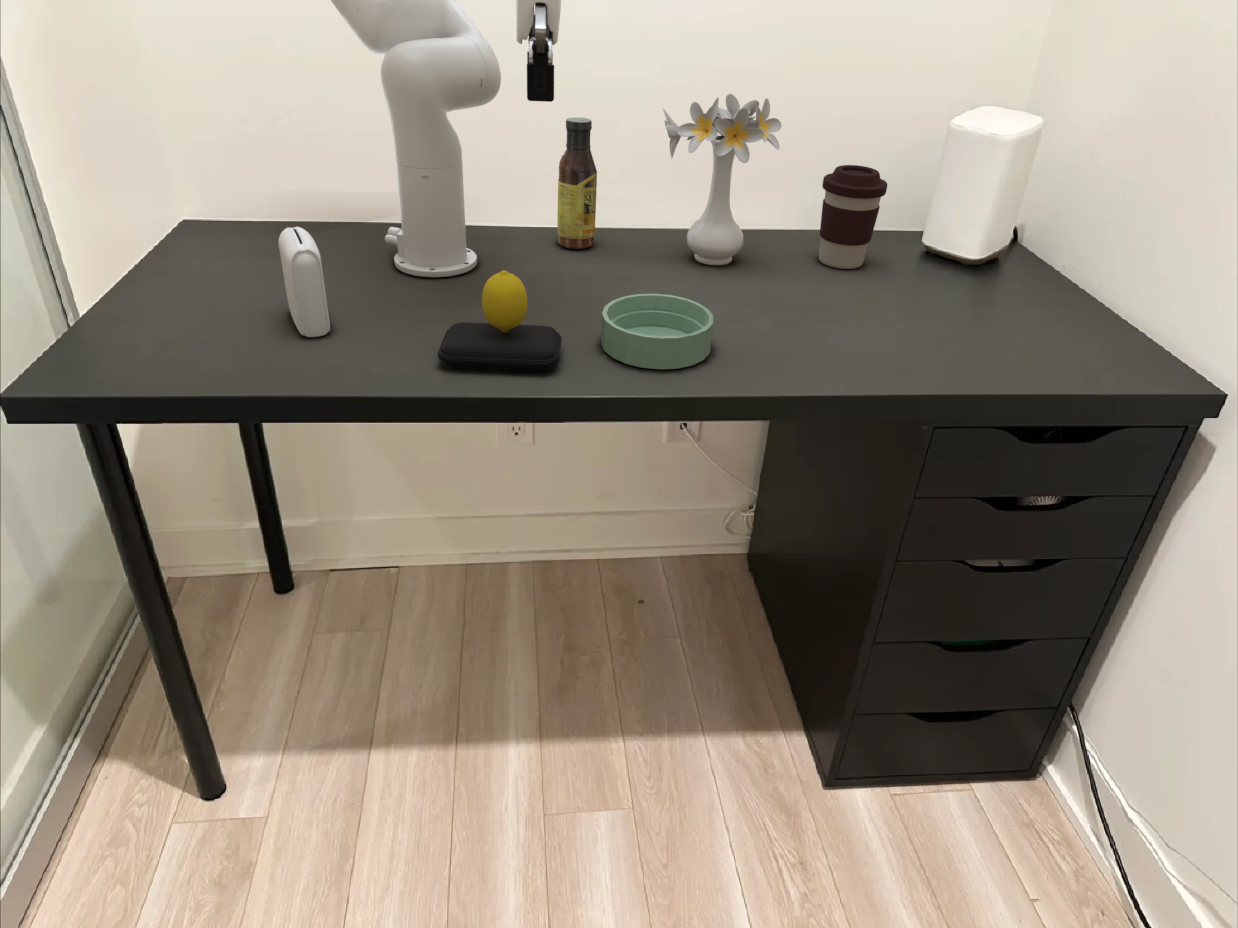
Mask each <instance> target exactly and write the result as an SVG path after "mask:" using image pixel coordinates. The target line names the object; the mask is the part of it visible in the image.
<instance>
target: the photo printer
mask: <svg viewBox="0 0 1238 928" xmlns="http://www.w3.org/2000/svg"><path fill="white" fill-rule="evenodd" d="M277 242H278V243H277V244H278V249H279V257H280V262H281V268H282V275H283V280H284V287H285V293H286V298H287V304H288V309H289V312H290V316H291V318H292V321H293V323H294V325H295V327H296V329H297V330H298V332H299V334H300V335H301V336H302V337H303V336H305V337H306V338H317V337H318V338H319V337H322V336H326V335H327V334H328V333H330V331H331V321H330V315H329V308H328V301H327V294H326V286H325V279H324V272H323V264H322V257H321V252H320V250H319V248H318V245H317V243H316V241H315V239H314V238H313V236H312V235H311V234H310V232H308V230H306V229H304V228H302V227H300V226H294V227H286V228H284V229H283V230H282V231H281V233H280V234H279V237H278V241H277Z"/></svg>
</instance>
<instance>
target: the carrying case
mask: <svg viewBox="0 0 1238 928" xmlns="http://www.w3.org/2000/svg"><path fill="white" fill-rule="evenodd" d="M561 347H562V336H561V334H560V333H559V332H558V331H557V330H556V329H555V328H554V327H552V326H549V325H541V324H540V325H538V324H521V323H520V324H519V325H518V326H517V327H515V328H512V329H510V330H509V331H508V332H507V333H504V332H502V331H501V330H500V329H498V328H496V327H494V326H492V325H491V324H490V323H489V322H468V321H467V322H465V321H464V322H462V321H461V322H455V323H454V324H452V325H451V326H450V327H449V328H448V329H447V330H446V331H445V333H444V336H443V338H442V341H441V343H440V346H439V349H438V350H437V358H438V359H439V361H440V362H442V363H443V365H445V366H446V367H449V368H451V369H460V370H461V369H462V370H481V371H482V370H483V371H484V370H485V371H506V372H537V373H538V372H541V373H542V372H549V371H551V370H552V369H553V368H554V367H555V366H557V364H558V363H559V361H560V355H561Z"/></svg>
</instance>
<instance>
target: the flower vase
mask: <svg viewBox="0 0 1238 928" xmlns="http://www.w3.org/2000/svg"><path fill="white" fill-rule="evenodd" d="M719 100H720V98H719V97H716V99H715V100H714V101H713V103H712V105H711V106H710V107H709V108H708V109H707V111H706V112H704V110H703V108H702V107H701V105H700V104H699V103H698V102H696V101H693V102H692V103H691V104H690V108H689V113H690V117H691V120H692V121H693V122H686V123H683V124H681V125H678V124H677V123H676V122H675V121H674V120H673V118H672V117H671V116H670V115H669V114H668V112H667V110H665V108H664V107H662V112H663V113H664V117H665V119H664V126H665V129H666V132H667V136H668V138H669V139H670V140H669V154H670V158H671V159H673V158H674V155H675V152H676V148H677V146H678V145H679V142H680V140H681V138H682V137H683V138H684V137H685V138H687V139H686V141H689V142H688V146H687V151H688V153H690V154H693V153H695V152H696V151H697V149H698V148H699V147H700V145H701V143H702V142H704V140H706V141H707V142H708V141H709V142H710V144H711V147H712V174H711V181H710V188H709V194H708V195H709V196H708V200H707V203H706V206H705V209H704V210H703V212H702V214H701V216H700V217H699V218H698V219H697V220H695V221H694V222H693V223H692V224H691V225H690V227H689V228H688V231H687V233H686V237H685V239H686V240H685V241H686V243H687V246H688V248H689V249H690V251H691V252H693V253H694V255H693V258H694V259H695V261H697V262H698V263H700V264H704V265H708V266H724V265H729V264H730V263H731V262H732V261H733V257H734V256H736V255H737V254H738V253H739V252H740V251H741V250H742V249H743V248H744V243H745V237H744V232H743V231H742V229H741V227H740V226H739V224H738V223H737V222H736V221H735V218H734V216H733V213H732V209H731V185H732V184H731V183H732V173H733V164H734V160H735V157H736V158H737V160H738V161H739V162H741V163H742V164H746V163H748V162H749V160H750V148H749V146H748V144H749V143H751V144H752V143H756V142H760V141H761V140H762V141H763V142H764V143H766V142H767V141H768V143H770V145H772V146H773V147H774V148H775V149H776V150H780V144H779V141H778V139H777V136H775V135H774V134H773V133H776V132H779V131H780V130H781V129H782V127H783V125H782V121H780V119H778V118H776V117H772V118H769V117H770V113H771V104H770V100H769V99H768V98H765V99H764V101H763V103H762V107H761V108H760V101H758V100H757V99H753V100H750V101H748V102H746V103H745V104H744V105H743V106H742V107H741V106H740V105H741V104H740V102H739V100H738V99H737V97H736V96H735V95H734V94H732V93H728V94H726V96H725V106H726V109H725V108H721V107H719ZM754 114H755V116H754ZM718 134H719V135H718ZM747 143H748V144H747Z"/></svg>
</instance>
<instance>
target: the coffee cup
mask: <svg viewBox="0 0 1238 928" xmlns="http://www.w3.org/2000/svg"><path fill="white" fill-rule="evenodd" d="M822 189H823V190H824V192H825V193H824V198H823V200H822V207H821V218H820V228H819V236H820V243H819V251H818V260H819V261H820V263H822V264H823V265H825V266H827V267H831V268H835V269H841V270H852V269H857V268H861V266H862V265H863V264H864V262H865V257H866V255H867V250H868V247H869V243H870V242H871V240H872V238H873V233H874V229H875V225H876V222H877V219H878V216H879V211H880V207H881V205H880V202H881V199H882V198H883V197H884V196H885V195H886V194H887V189H888V182H887V181H886V180H884V179H882V178H881V175H880V171H878V170H877V169H875V168H872V167H869V166H864V165H857V164H843V165H838V166H837V167H835V168H834V170H833V172H831V173H828V174H826V175H824V176H823V179H822Z"/></svg>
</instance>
